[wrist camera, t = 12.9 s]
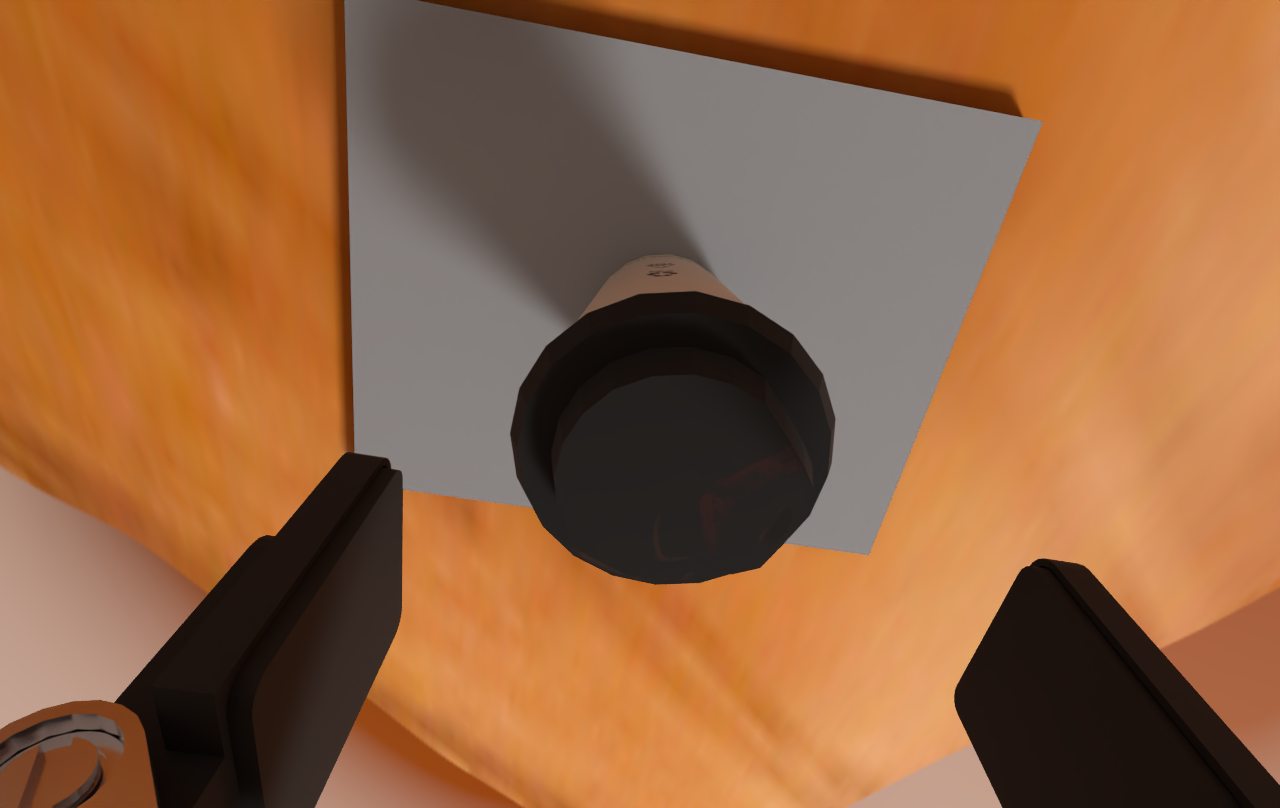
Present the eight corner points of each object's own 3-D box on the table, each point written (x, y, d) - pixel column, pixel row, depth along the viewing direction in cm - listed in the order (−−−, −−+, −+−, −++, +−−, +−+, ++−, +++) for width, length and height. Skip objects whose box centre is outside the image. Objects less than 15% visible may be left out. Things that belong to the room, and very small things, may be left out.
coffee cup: (526, 371, 22) (449, 558, 13) (605, 176, 20) (575, 248, 11) (707, 444, 24) (749, 661, 15) (805, 270, 21) (931, 405, 12)
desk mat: (1024, 119, 20) (1042, 121, 19) (861, 539, 27) (868, 555, 26) (358, -9, 18) (344, -14, 18) (365, 468, 25) (355, 483, 24)
